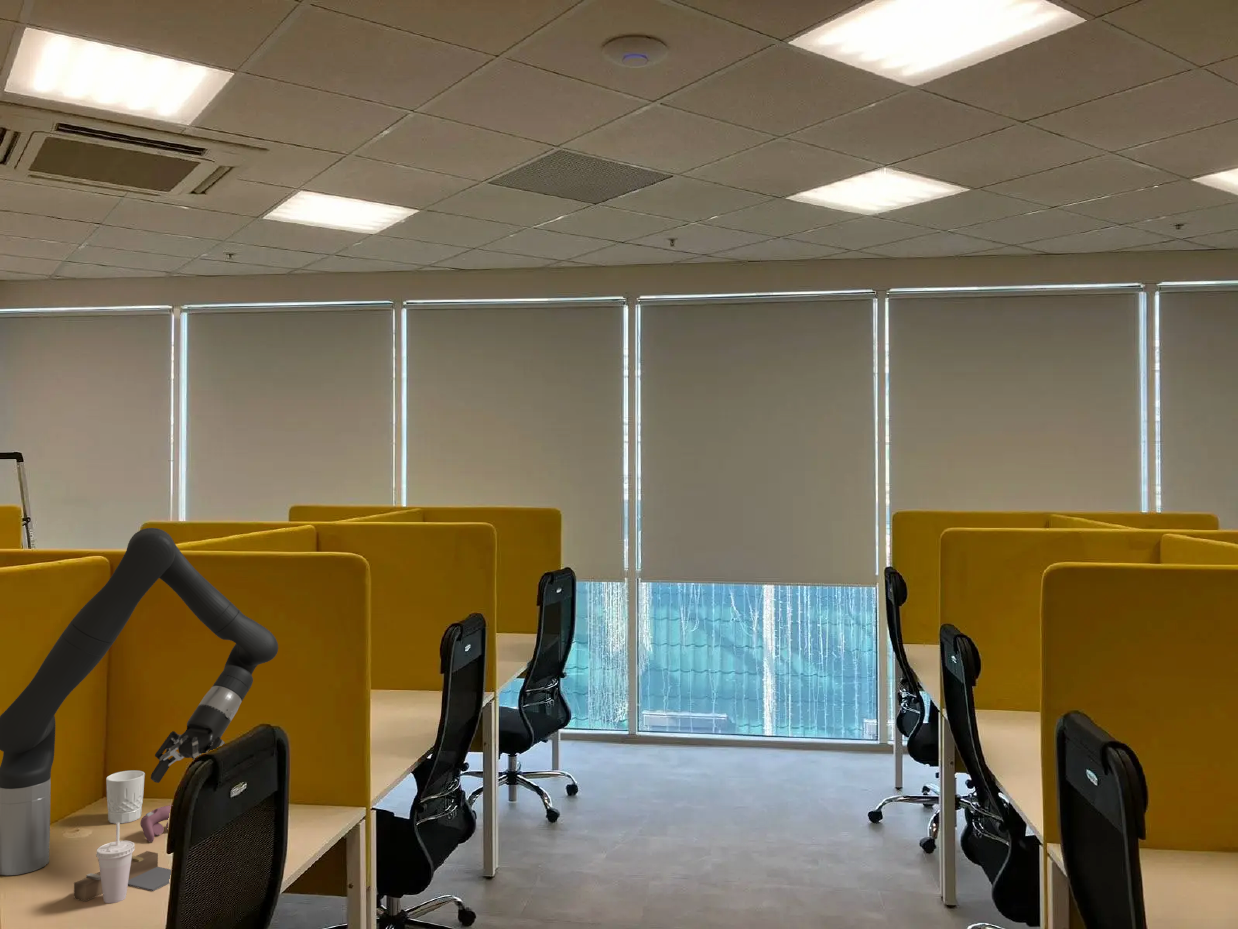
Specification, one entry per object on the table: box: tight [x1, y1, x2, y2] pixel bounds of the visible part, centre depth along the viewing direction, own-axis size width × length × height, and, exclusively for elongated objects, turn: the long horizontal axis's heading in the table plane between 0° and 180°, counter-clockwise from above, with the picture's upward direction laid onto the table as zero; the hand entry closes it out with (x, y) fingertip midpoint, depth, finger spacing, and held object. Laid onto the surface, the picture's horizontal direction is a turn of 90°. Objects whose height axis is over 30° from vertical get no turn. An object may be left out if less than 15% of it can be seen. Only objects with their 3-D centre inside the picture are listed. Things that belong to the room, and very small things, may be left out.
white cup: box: [105, 769, 146, 825], centre depth 211 cm, size 8×8×10 cm
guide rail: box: [73, 850, 159, 902], centre depth 177 cm, size 3×16×3 cm, turn 158°
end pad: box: [128, 866, 172, 892], centre depth 179 cm, size 8×8×1 cm
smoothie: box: [95, 822, 135, 904], centre depth 171 cm, size 6×6×14 cm
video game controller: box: [139, 805, 172, 843], centre depth 202 cm, size 10×5×7 cm, turn 141°
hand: (169, 783), depth 182 cm, fingers open, 8 cm apart
